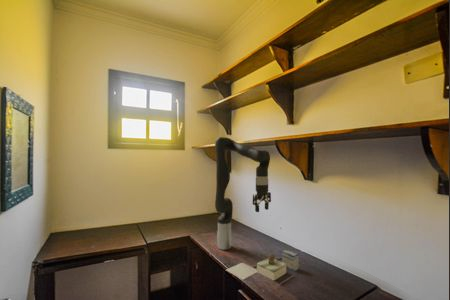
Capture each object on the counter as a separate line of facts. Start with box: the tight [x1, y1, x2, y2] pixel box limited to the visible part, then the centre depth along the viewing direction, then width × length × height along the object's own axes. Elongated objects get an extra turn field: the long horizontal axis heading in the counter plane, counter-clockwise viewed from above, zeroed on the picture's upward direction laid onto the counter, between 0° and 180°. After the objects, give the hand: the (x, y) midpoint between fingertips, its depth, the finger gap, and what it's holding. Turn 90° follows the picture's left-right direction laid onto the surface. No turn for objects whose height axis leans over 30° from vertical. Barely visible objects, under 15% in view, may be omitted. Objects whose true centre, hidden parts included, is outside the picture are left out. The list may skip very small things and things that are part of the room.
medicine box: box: [281, 249, 299, 272], centre depth 130 cm, size 8×4×9 cm, turn 45°
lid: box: [256, 253, 286, 273], centre depth 124 cm, size 11×11×6 cm
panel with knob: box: [225, 262, 257, 281], centre depth 126 cm, size 13×13×1 cm
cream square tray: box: [256, 264, 287, 281], centre depth 124 cm, size 11×11×4 cm
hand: (262, 210), depth 139 cm, fingers open, 8 cm apart
